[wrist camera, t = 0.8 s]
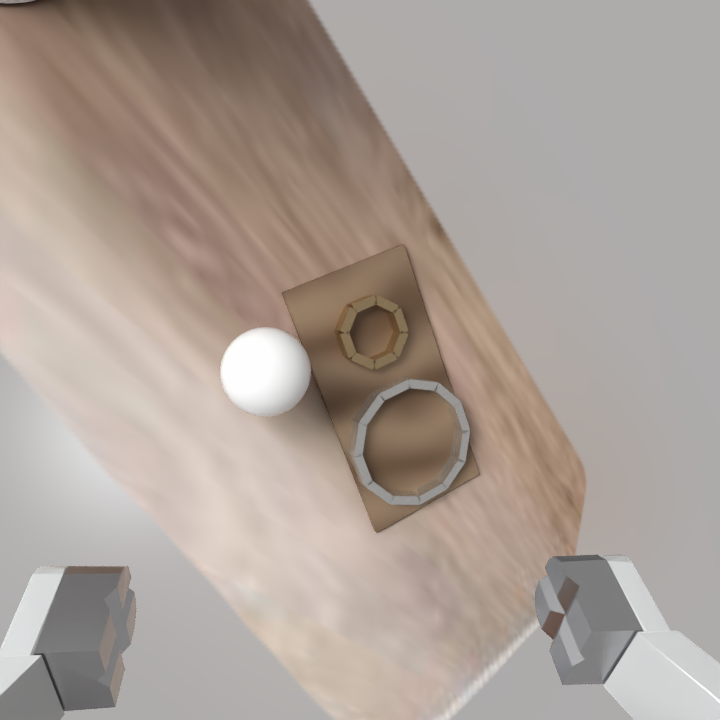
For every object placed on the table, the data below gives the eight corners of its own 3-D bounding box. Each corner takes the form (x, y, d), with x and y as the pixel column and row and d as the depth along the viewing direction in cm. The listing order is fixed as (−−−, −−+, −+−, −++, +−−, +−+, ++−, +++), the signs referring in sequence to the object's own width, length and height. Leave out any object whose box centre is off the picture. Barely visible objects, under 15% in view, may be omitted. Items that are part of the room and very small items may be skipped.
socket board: (281, 292, 49) (287, 292, 47) (401, 244, 53) (411, 243, 51) (374, 530, 55) (383, 539, 53) (476, 472, 59) (487, 478, 57)
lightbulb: (292, 335, 50) (335, 347, 40) (268, 405, 50) (305, 435, 40) (220, 310, 47) (247, 316, 37) (195, 384, 47) (215, 410, 37)
